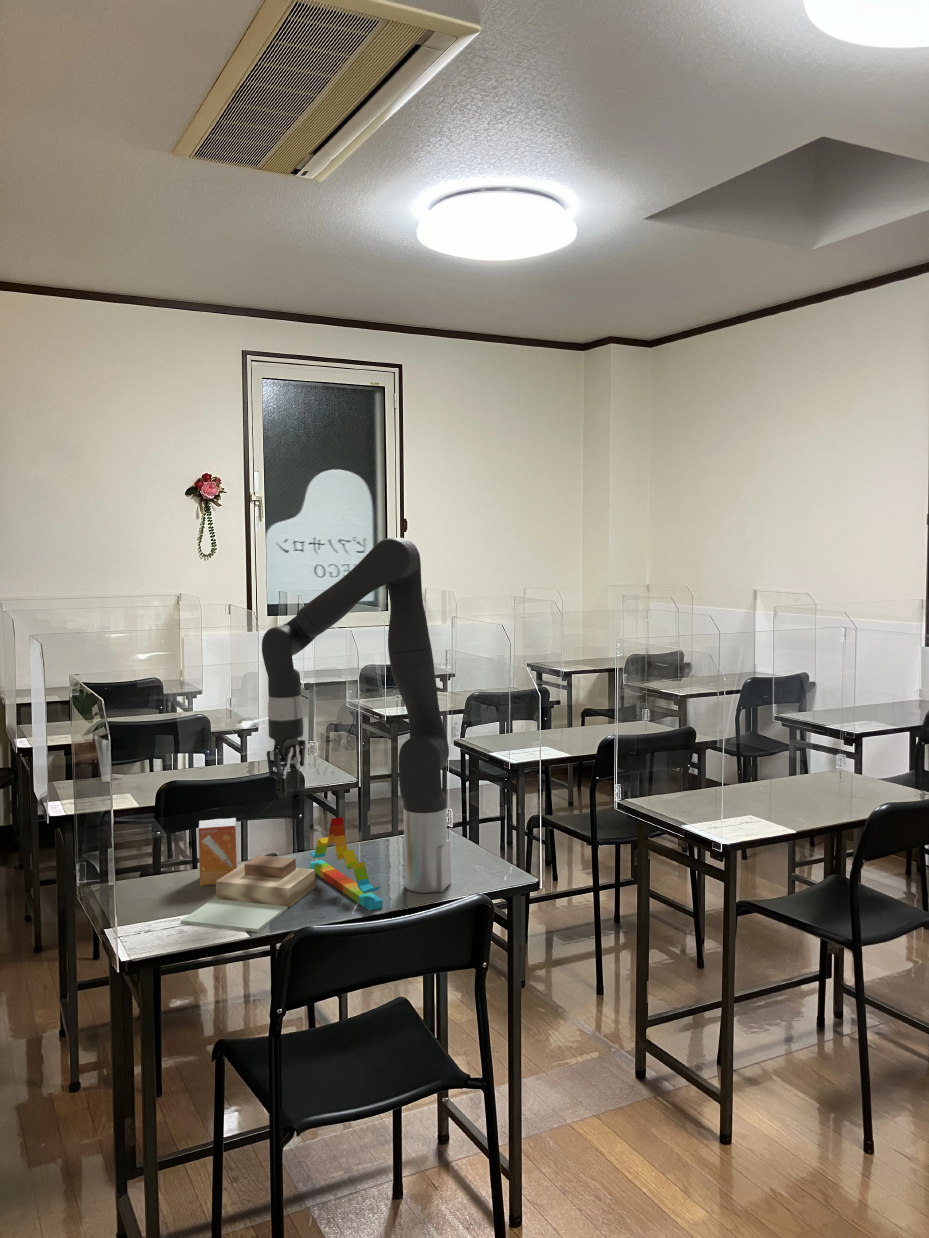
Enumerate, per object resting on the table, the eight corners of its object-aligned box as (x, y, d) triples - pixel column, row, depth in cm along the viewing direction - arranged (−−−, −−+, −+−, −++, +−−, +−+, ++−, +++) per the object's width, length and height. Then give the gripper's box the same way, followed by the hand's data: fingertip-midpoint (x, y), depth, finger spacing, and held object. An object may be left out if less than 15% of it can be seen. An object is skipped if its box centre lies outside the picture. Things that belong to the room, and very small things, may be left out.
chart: (383, 908, 201) (382, 836, 200) (369, 911, 199) (367, 839, 198) (323, 867, 227) (321, 803, 225) (310, 870, 225) (308, 805, 224)
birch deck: (315, 887, 213) (314, 869, 212) (289, 907, 201) (288, 888, 201) (245, 880, 218) (244, 862, 218) (216, 899, 206) (215, 881, 206)
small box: (199, 886, 215) (197, 827, 214) (200, 876, 221) (198, 819, 220) (238, 882, 217) (235, 824, 216) (238, 873, 223) (235, 817, 222)
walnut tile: (295, 869, 213) (295, 858, 213) (282, 878, 207) (282, 867, 207) (258, 865, 215) (258, 855, 215) (244, 874, 210) (244, 863, 210)
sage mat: (287, 909, 200) (287, 906, 200) (257, 931, 189) (257, 928, 189) (213, 901, 206) (213, 898, 205) (180, 923, 194) (180, 920, 194)
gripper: (285, 722, 209) (288, 800, 211) (315, 710, 223) (317, 784, 224) (253, 721, 211) (256, 798, 213) (285, 709, 225) (287, 782, 226)
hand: (287, 790), depth 219 cm, fingers open, 5 cm apart
